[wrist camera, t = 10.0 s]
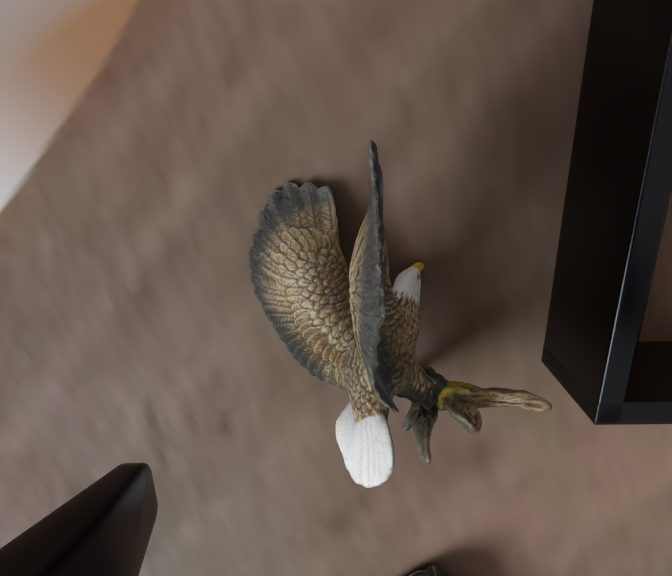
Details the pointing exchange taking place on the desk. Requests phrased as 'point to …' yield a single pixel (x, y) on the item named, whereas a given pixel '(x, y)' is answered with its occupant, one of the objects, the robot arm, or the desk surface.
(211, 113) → the desk surface
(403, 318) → the eagle figurine
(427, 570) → the disk drive
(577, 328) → the desk tidy
